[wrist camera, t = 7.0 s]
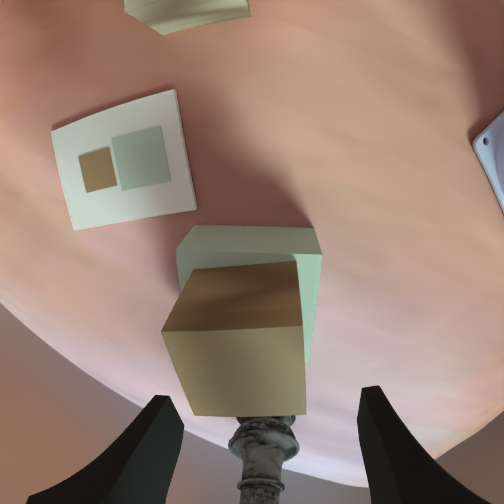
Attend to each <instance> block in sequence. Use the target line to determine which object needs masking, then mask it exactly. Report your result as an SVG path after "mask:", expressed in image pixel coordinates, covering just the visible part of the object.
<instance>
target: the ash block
mask: <svg viewBox="0 0 504 504" xmlns="http://www.w3.org/2000/svg"><path fill="white" fill-rule="evenodd" d="M124 7H125V12H126V13H127V14H129V15H131V16H132V17H134V18H136V19H137V20H139V21H141V22H142V23H144V24H146V25H147V26H149V27H151V28H152V29H154V30H155V31H157V32H158V33H160V34H162V35H166V34H170V33H173V32H177V31H181V30H185V29H189V28H193V27H197V26H202V25H206V24H211V23H216V22H221V21H227V20H233V19H239V18H245V17H251V15H250V10H249V4H248V0H124Z"/></svg>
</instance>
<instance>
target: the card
mask: <svg viewBox="0 0 504 504" xmlns="http://www.w3.org/2000/svg"><path fill="white" fill-rule="evenodd" d="M51 136H52V141H53V147H54V152H55V157H56V162H57V166H58V171H59V175H60V180H61V184H62V188H63V192H64V196H65V200H66V204H67V207H68V211H69V215H70V218H71V222H72V225H73V228H74V231H76V230H81V229H86V228H91V227H97V226H102V225H107V224H113V223H118V222H124V221H130V220H136V219H142V218H148V217H154V216H160V215H166V214H173V213H179V212H186V211H192V210H196V209H197V208H198V207H197V202H196V197H195V192H194V187H193V182H192V177H191V172H190V166H189V161H188V156H187V150H186V145H185V139H184V134H183V128H182V122H181V117H180V111H179V105H178V99H177V92H176V90H175V89H172V90H168V91H165V92H161V93H157V94H154V95H150V96H147V97H143V98H140V99H137V100H134V101H130V102H127V103H124V104H121V105H118V106H115V107H112V108H109V109H107V110H104V111H101V112H98V113H96V114H93V115H90V116H88V117H85V118H82V119H80V120H77V121H75V122H73V123H70V124H68V125H65V126H63V127H61V128H58V129H56V130H54V131H52V132H51Z"/></svg>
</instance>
